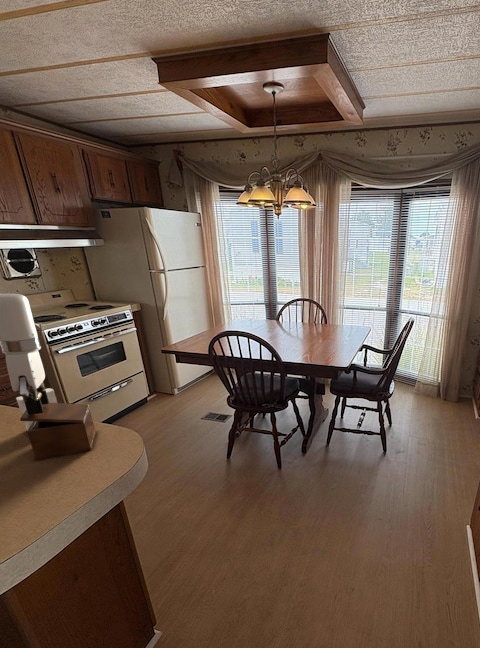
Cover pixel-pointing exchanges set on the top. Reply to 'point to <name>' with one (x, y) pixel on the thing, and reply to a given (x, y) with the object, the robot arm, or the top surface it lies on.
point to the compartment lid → (58, 413)
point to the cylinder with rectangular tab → (22, 406)
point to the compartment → (61, 437)
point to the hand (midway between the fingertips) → (38, 408)
